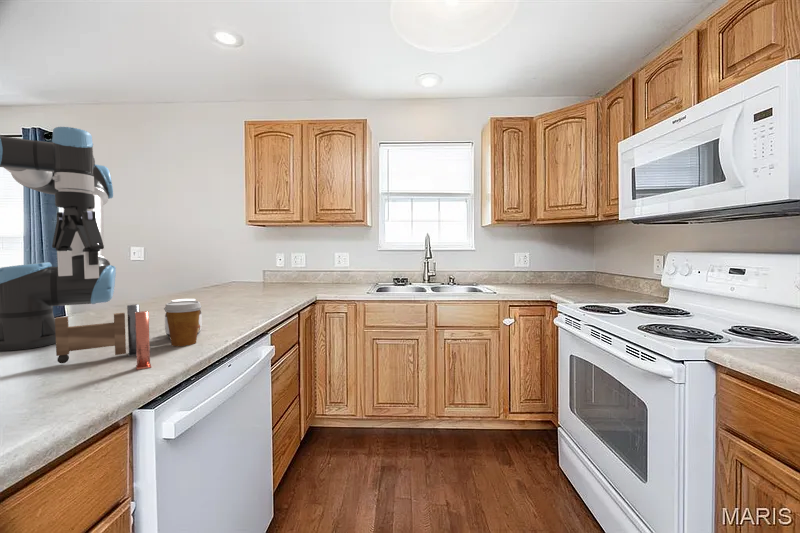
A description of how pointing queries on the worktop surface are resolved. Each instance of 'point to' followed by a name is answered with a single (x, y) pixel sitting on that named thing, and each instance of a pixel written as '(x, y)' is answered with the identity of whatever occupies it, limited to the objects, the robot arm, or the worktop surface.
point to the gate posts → (139, 336)
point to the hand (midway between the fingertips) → (78, 277)
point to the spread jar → (198, 323)
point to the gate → (89, 336)
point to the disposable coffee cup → (183, 321)
